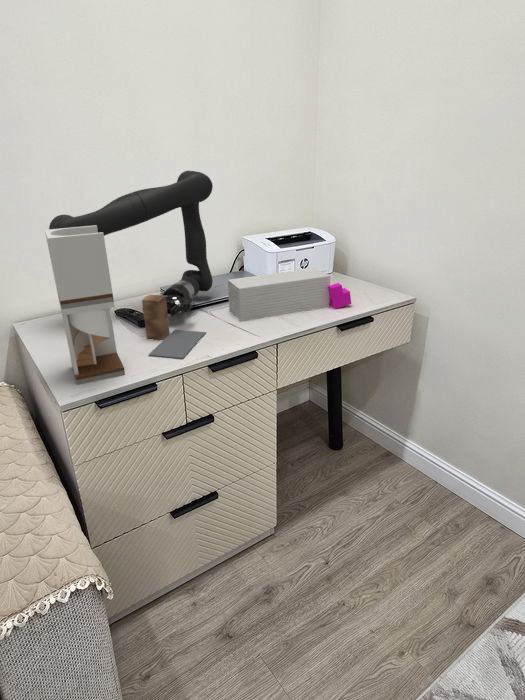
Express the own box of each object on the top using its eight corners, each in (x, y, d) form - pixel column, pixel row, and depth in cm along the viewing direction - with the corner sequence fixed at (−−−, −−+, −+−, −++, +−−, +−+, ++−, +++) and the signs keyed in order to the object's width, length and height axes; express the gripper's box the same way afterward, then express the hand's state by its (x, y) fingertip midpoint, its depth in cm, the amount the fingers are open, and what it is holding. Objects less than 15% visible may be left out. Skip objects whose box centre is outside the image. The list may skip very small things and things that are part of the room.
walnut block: (146, 339, 141) (141, 300, 136) (154, 332, 146) (149, 294, 141) (162, 340, 140) (158, 301, 135) (169, 334, 145) (165, 295, 140)
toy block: (351, 303, 163) (348, 282, 159) (334, 309, 162) (331, 288, 158) (332, 290, 176) (330, 270, 172) (317, 295, 175) (313, 275, 171)
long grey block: (314, 297, 173) (315, 268, 168) (329, 306, 164) (330, 275, 159) (229, 310, 162) (227, 279, 157) (240, 321, 153) (239, 288, 148)
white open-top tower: (77, 384, 117) (47, 238, 102) (72, 366, 126) (44, 230, 111) (125, 374, 121) (103, 233, 107) (117, 358, 130) (96, 225, 115)
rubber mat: (148, 356, 131) (148, 354, 131) (174, 330, 147) (174, 329, 146) (183, 359, 129) (183, 357, 128) (206, 333, 144) (205, 332, 144)
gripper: (157, 282, 155) (133, 298, 141) (199, 284, 152) (179, 301, 138) (159, 304, 159) (137, 322, 144) (201, 307, 156) (182, 326, 141)
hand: (158, 312), depth 141 cm, fingers open, 8 cm apart
